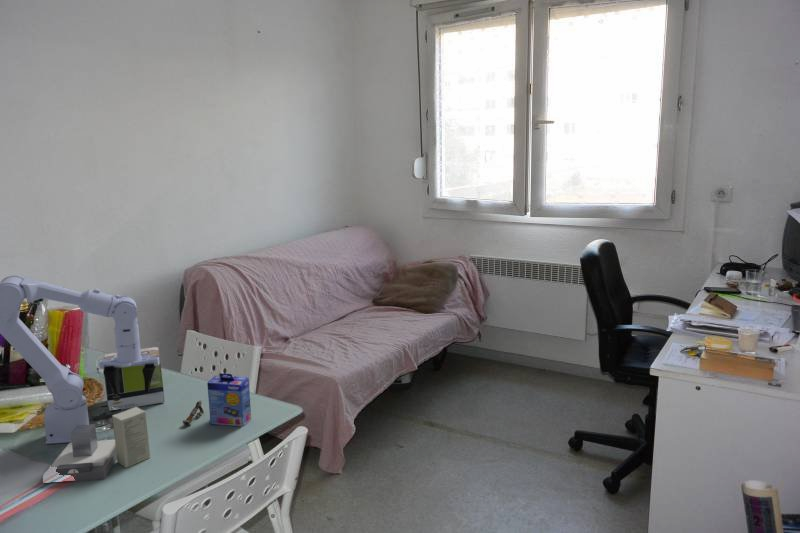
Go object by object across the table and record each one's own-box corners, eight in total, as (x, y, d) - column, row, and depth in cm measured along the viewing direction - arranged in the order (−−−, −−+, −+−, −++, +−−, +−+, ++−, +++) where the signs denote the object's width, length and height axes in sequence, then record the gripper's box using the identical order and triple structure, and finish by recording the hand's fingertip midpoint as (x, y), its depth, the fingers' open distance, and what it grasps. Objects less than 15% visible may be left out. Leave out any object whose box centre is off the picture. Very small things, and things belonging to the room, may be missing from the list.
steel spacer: (73, 457, 137) (70, 433, 136) (79, 448, 141) (77, 425, 140) (91, 455, 138) (89, 431, 137) (97, 447, 142) (95, 424, 140)
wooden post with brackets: (207, 410, 166) (202, 398, 164) (193, 432, 160) (188, 421, 158) (202, 409, 167) (197, 398, 164) (187, 431, 161) (182, 420, 158)
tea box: (162, 391, 182) (159, 345, 179) (164, 403, 173) (160, 355, 170) (108, 399, 176) (103, 352, 173) (107, 413, 167) (102, 363, 164)
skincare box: (141, 452, 145) (137, 405, 143) (151, 458, 142) (146, 410, 140) (116, 462, 140) (111, 414, 138) (125, 468, 137) (120, 420, 135)
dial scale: (42, 484, 131) (40, 470, 131) (67, 452, 145) (65, 440, 144) (104, 479, 133) (103, 466, 133) (123, 448, 147) (122, 436, 146)
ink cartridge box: (208, 425, 159) (205, 374, 156) (218, 416, 165) (214, 366, 162) (243, 427, 158) (240, 376, 155) (251, 418, 163) (249, 368, 160)
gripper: (93, 349, 150) (98, 400, 152) (153, 346, 152) (157, 396, 155) (102, 341, 157) (107, 389, 159) (159, 338, 159) (163, 385, 161)
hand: (132, 392), depth 157 cm, fingers open, 7 cm apart
